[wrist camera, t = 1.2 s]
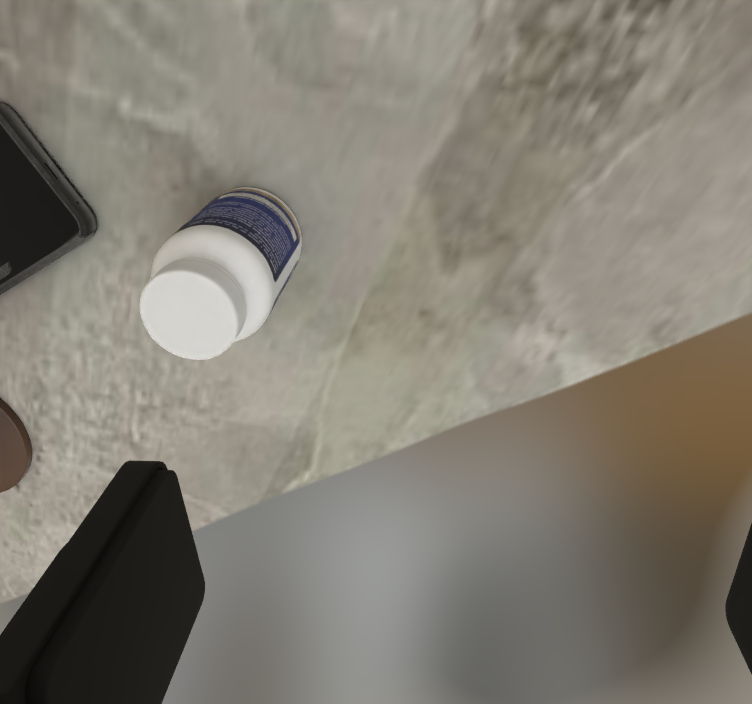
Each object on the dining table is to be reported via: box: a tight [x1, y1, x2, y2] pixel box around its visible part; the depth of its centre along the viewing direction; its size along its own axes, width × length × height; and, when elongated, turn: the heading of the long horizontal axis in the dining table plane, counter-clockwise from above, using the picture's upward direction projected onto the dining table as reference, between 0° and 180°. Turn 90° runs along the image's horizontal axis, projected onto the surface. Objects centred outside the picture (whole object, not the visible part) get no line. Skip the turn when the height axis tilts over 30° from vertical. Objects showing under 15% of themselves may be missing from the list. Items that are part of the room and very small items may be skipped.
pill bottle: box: [140, 187, 302, 360], centre depth 28 cm, size 5×5×10 cm
